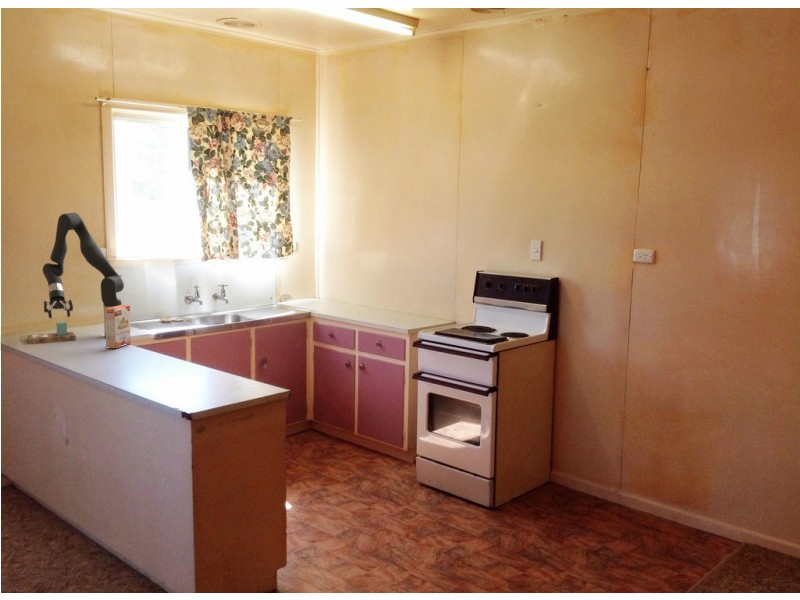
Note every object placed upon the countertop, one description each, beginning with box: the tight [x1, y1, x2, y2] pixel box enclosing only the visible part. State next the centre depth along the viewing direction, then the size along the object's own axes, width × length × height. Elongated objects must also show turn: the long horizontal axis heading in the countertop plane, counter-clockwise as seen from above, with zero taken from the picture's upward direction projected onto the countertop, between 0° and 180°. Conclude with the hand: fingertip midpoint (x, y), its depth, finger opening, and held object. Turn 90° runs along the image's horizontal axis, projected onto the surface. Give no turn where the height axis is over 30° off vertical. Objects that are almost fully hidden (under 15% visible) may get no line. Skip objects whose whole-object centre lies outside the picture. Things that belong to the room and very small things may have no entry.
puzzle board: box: [27, 331, 77, 345], centre depth 386 cm, size 22×12×3 cm, turn 121°
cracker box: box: [105, 304, 132, 349], centre depth 376 cm, size 14×6×21 cm, turn 168°
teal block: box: [55, 321, 68, 336], centre depth 388 cm, size 4×4×9 cm
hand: (59, 317), depth 393 cm, fingers open, 8 cm apart
